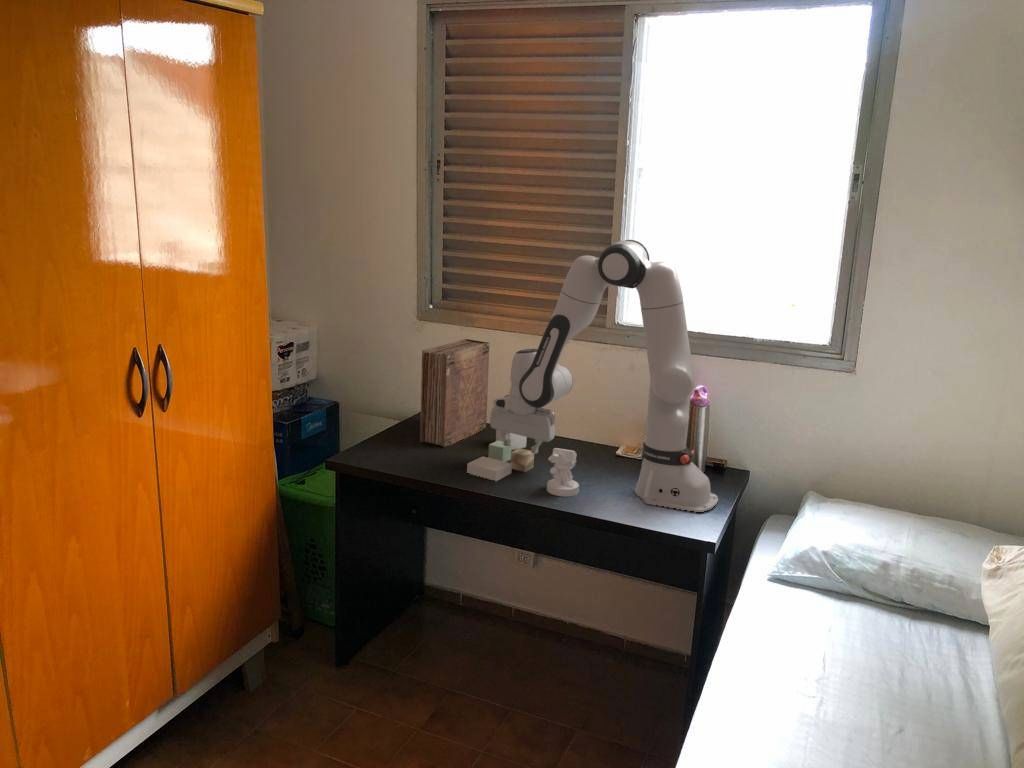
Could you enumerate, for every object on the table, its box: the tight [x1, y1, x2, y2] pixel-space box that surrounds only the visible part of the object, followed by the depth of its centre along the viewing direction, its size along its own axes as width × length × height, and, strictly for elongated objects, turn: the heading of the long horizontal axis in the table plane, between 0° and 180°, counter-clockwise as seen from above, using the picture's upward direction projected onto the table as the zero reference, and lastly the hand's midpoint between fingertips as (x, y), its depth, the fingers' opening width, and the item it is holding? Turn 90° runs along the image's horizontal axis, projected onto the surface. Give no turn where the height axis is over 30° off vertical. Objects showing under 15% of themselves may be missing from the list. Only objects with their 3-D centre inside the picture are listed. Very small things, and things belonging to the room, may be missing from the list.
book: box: [419, 338, 490, 449], centre depth 263 cm, size 25×9×30 cm, turn 150°
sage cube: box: [487, 440, 513, 462], centre depth 245 cm, size 5×5×5 cm
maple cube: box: [510, 448, 535, 473], centre depth 239 cm, size 5×5×5 cm
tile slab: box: [466, 456, 513, 482], centre depth 234 cm, size 10×8×3 cm
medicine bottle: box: [495, 429, 528, 451], centre depth 257 cm, size 7×7×12 cm
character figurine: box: [546, 447, 580, 497], centre depth 223 cm, size 9×10×12 cm
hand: (520, 449), depth 238 cm, fingers open, 8 cm apart
